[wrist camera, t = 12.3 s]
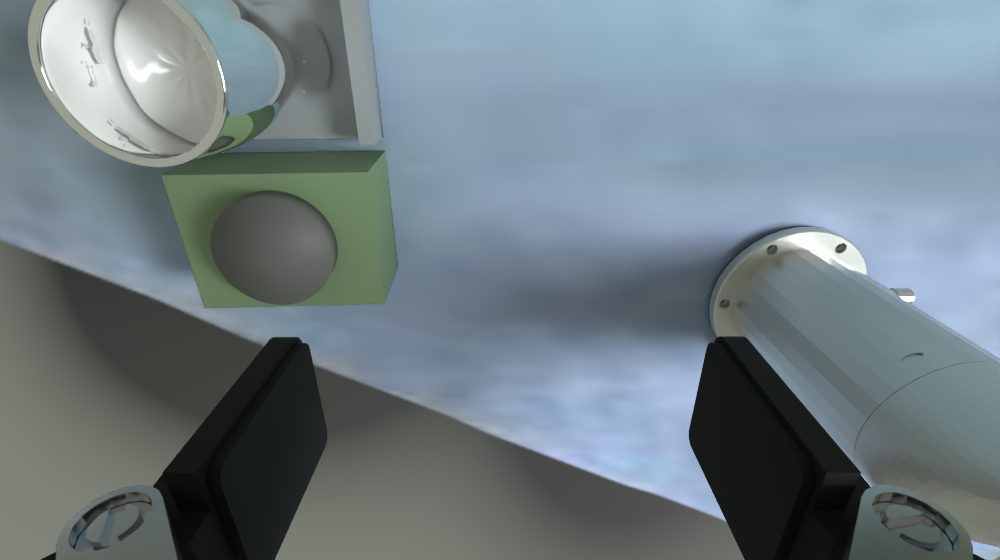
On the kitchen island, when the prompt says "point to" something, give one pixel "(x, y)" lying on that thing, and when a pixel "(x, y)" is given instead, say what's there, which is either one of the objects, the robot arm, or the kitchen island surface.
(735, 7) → the kitchen island surface
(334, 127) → the push button box
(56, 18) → the beer glass
